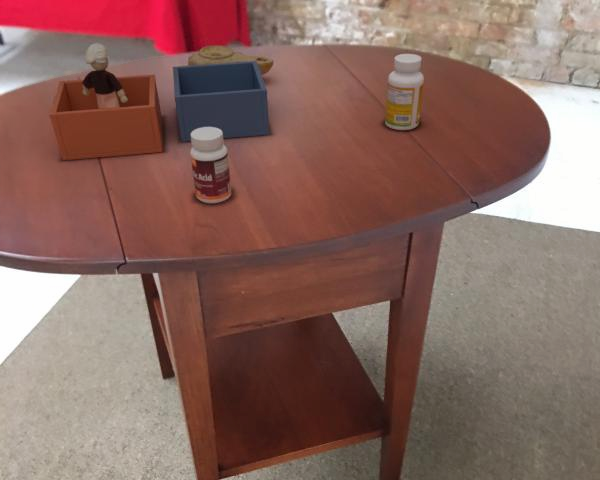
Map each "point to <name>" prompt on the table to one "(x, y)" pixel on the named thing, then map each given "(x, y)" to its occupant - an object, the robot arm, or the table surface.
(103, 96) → the grandmother figurine
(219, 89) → the slate bin
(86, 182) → the table surface
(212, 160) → the pill bottle
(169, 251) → the table surface
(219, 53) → the oil lamp
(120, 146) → the terracotta bin
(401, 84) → the supplement bottle
